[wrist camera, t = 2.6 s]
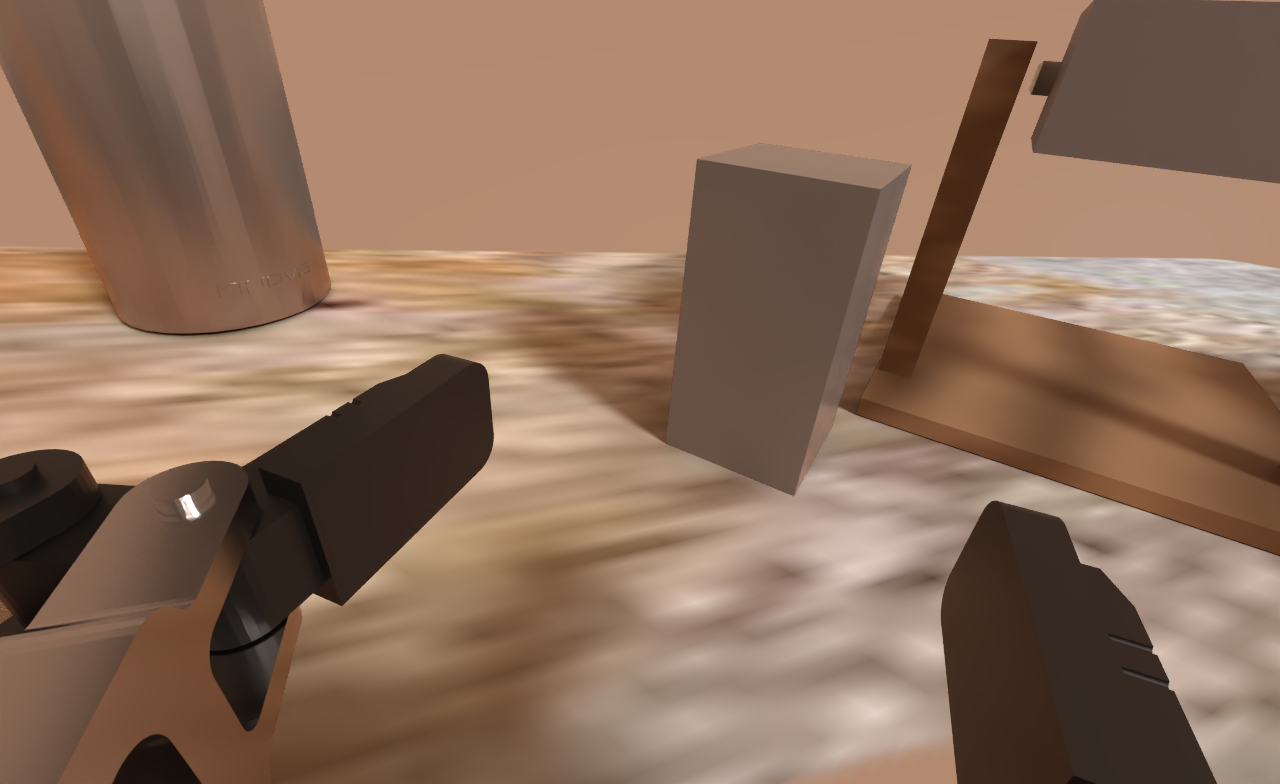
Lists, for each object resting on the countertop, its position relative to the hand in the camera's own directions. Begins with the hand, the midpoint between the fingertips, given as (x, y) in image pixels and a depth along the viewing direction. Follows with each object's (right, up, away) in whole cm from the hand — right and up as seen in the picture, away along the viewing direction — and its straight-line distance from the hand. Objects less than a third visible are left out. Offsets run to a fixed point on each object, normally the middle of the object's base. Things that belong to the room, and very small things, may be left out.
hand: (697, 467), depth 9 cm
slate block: (+3, 0, +13) cm, 13 cm away
